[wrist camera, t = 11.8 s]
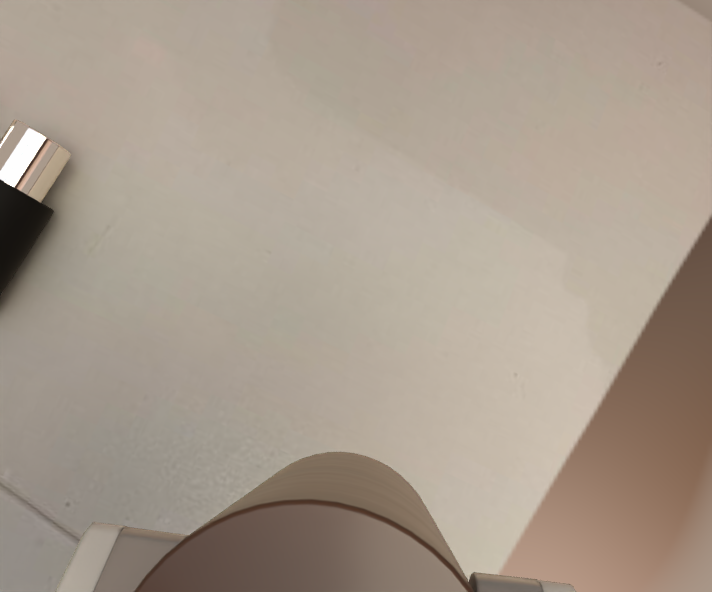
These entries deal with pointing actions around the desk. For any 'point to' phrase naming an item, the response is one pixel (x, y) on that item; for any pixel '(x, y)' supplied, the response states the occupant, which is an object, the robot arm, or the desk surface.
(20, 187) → the audio adapter
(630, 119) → the desk surface
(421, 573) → the brown cylinder
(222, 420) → the desk surface
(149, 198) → the desk surface
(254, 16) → the desk surface
